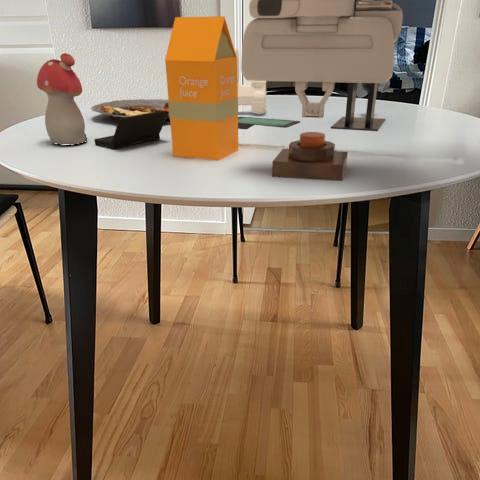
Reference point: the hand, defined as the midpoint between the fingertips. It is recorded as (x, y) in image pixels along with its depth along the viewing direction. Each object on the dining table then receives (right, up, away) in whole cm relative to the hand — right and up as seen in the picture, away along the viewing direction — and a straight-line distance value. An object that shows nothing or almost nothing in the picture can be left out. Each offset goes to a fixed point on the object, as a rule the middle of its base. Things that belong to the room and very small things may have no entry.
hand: (312, 117), depth 70 cm
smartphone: (-6, +12, +35) cm, 37 cm away
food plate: (-32, +19, +47) cm, 60 cm away
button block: (0, -7, +4) cm, 8 cm away
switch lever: (+15, +19, +31) cm, 39 cm away
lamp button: (0, -3, +2) cm, 4 cm away
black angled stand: (-30, +4, +23) cm, 38 cm away
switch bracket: (+14, +10, +31) cm, 35 cm away
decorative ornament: (-42, +5, +24) cm, 49 cm away
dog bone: (-12, +21, +49) cm, 55 cm away
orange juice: (-16, 0, +15) cm, 22 cm away
